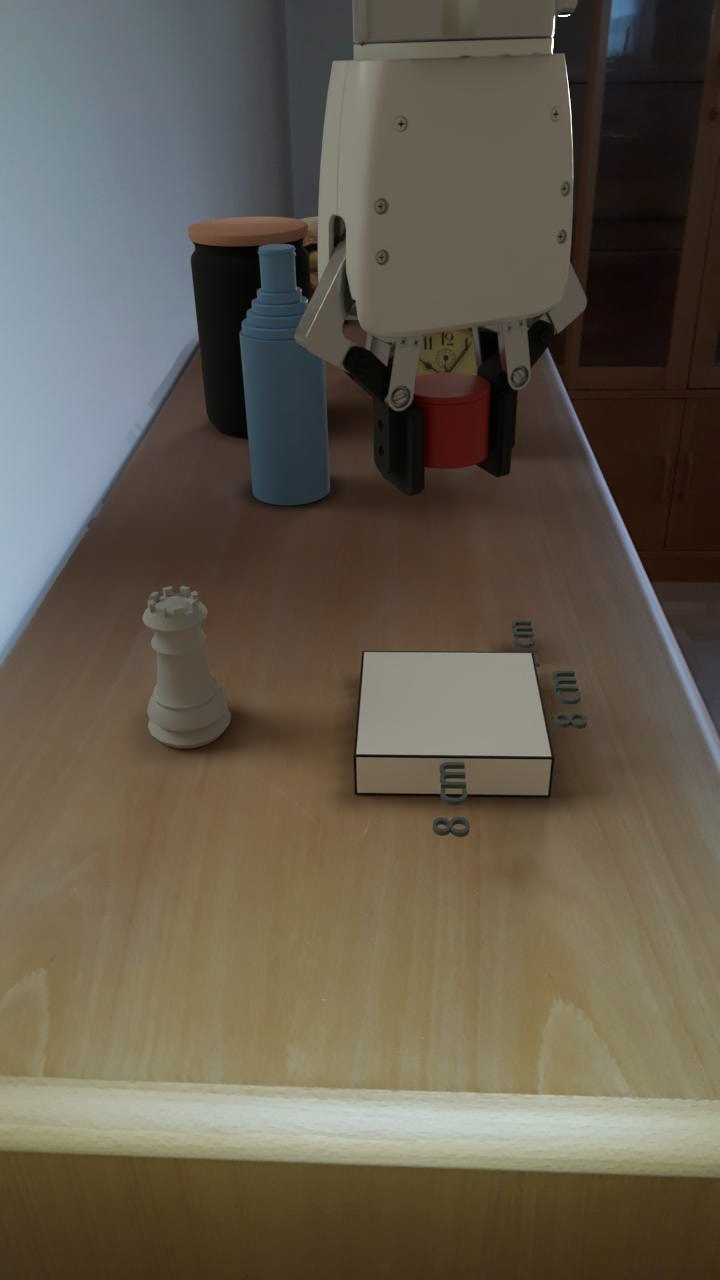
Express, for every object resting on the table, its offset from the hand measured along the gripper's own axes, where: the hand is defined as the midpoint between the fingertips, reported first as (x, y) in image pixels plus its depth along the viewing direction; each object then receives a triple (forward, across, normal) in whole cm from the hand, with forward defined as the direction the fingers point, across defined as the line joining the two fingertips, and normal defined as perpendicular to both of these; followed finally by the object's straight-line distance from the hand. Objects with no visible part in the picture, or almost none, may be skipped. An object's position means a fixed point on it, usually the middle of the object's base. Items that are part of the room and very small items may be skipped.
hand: (444, 472), depth 46 cm
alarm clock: (+14, -22, -37) cm, 45 cm away
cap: (-1, 0, 0) cm, 1 cm away
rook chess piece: (+14, +12, -6) cm, 20 cm away
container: (+14, 0, +2) cm, 15 cm away
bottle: (+14, -5, -34) cm, 37 cm away
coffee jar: (+14, -9, -51) cm, 54 cm away
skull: (+14, -32, -90) cm, 96 cm away
